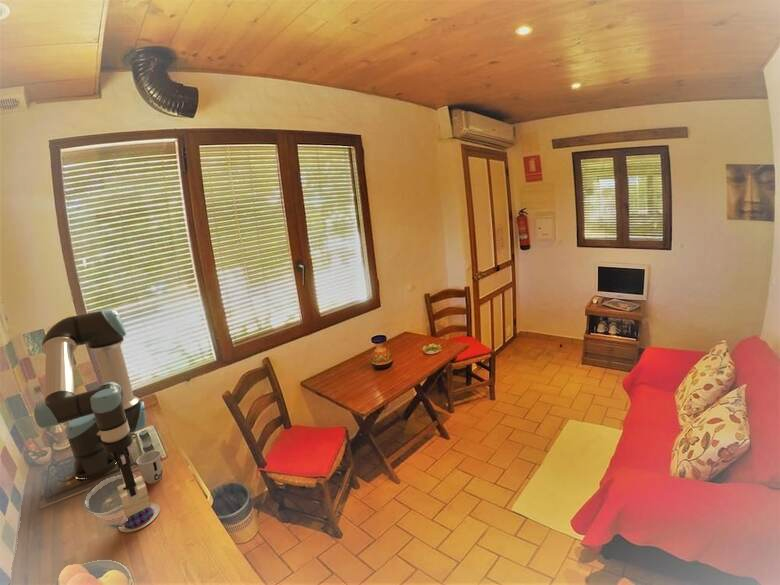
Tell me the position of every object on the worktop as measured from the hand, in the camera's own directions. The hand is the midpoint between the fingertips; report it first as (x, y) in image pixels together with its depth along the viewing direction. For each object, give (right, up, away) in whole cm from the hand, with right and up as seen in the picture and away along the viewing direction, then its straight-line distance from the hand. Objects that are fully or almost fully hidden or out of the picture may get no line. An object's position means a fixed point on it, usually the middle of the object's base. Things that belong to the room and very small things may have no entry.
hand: (131, 491), depth 125 cm
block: (+1, -6, +2) cm, 6 cm away
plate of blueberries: (+1, -11, +3) cm, 12 cm away
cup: (-6, -7, +21) cm, 23 cm away
